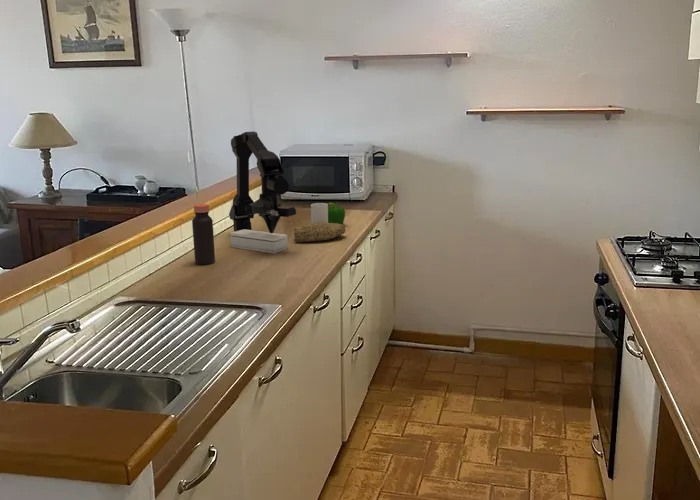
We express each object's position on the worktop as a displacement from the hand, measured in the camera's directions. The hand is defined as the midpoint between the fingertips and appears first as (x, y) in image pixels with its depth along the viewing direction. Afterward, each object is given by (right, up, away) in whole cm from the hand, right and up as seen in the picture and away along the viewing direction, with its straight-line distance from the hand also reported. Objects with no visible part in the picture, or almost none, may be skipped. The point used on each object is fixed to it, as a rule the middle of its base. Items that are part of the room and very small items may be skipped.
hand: (271, 232), depth 253 cm
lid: (-5, -1, +4) cm, 6 cm away
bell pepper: (+22, +4, +38) cm, 45 cm away
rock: (+17, -2, +16) cm, 23 cm away
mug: (+17, 0, +26) cm, 31 cm away
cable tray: (-5, -5, +5) cm, 9 cm away
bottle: (-21, -11, -14) cm, 28 cm away
